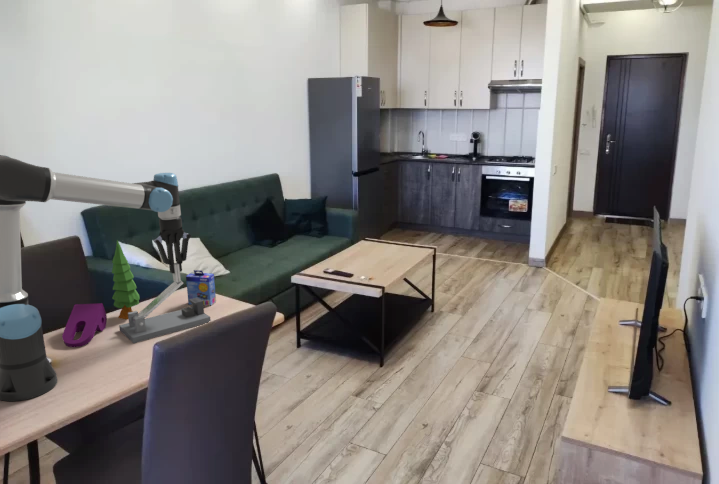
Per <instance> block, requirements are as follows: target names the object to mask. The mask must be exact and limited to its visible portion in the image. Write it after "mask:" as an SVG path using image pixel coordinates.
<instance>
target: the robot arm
mask: <svg viewBox="0 0 719 484" xmlns="http://www.w3.org/2000/svg"><path fill="white" fill-rule="evenodd" d="M179 194H180V192H179V183H178V178H177V174H175V173H173V172H160V173H155V174H154V175H153V180H150V181H142V182H132V183H130V182H124V181H118V180H117V181H116V180H109V179H102V178H96V177H88V176H81V175H75V174H74V175H73V174H69V173H68V174H67V173H61V172H53V171H52V169H50V167H43V166H39V165H35V164H30V163H28V162H25V161H22V160H19V159H16V158H15V157H14V158H13V157H10V156H9V155H5V154H4V155H1V154H0V401H3V402H4V401H5V402H19V401H20V402H21V401H24V400H30V399H33V398H36V397H39V396H41V395H44V394H46V393H47V392H49V391H51V390H52V389H54V388H55V387H56V385H57V384H58V375H57V372H56V370H55V368H54V367H53V366H52V363H51V362H50V360H49V359H48V357H47V350H46V345H45V338H44V332H43V326H42V325H43V324H42V322H43V321H42V317H41V314H40V311H39V310H38V308H37V307H35V306H33V305H30V304H29V293H28V292H27V291H25V290H24V289H23V288H22V287H23V282H22V281H23V280H22V277H23V276H22V251H21V250H22V246H21V245H22V243H21V212H20V211H21V209H22V208H23V207H24V206H25V205H26V203H27V202H37V203H38V202H39V203H47V202H49V200H54V201H64V202H65V201H66V202H71V203H72V202H74V203H81V204H82V203H83V204H91V205H92V204H93V205H99V206H101V205H102V206H109V207H110V206H111V207H120V208H127V209H128V208H129V209H139V210H146V211H153V212H156V213H157V216H158V218H159V219H158V224H159V235H158V237H157V238H154V239H153V242H154V244H155V245H156V247H157V249H158V252H159V254H160V257H161V260H162V262H163V264H165V265H167V266H169V273H171V274H172V281H173V282H174V281H175V282H180V281H182V280H181V279H182V278H181V272H182V271H183V266H182V265H183V262H185V261H187V257H188V256H187V255H188V247H189V241H190V238H191V237H192V235H191V233H187V232H185V230H184V229H183V221H182V217H181V216H182V211H181V204H180V203H181V202H180V195H179ZM181 239H182V240H181ZM181 241H182V242H181ZM163 242H165V245H166V250H165V247H164V245H163ZM174 258H175V259H174Z"/></svg>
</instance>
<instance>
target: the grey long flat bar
mask: <svg viewBox="0 0 719 484" xmlns="http://www.w3.org/2000/svg"><path fill="white" fill-rule="evenodd" d="M182 285H184V282H183V281H182V280H181V281H180V282H175V281H173V282H172V283H171V284H170V285H168V287H166V288H165V289H164V290H163V291H162V292H161V293H160V294H158V295H157V296H156V297H155V298H154V299H152V301H151V302H149V304H147V305H146V306H145V307H144V308H143V309H142V310H141V311H140V312H138V314H137V315H136V316H134V317H133V318H132V320H133V321H134V318H137V317H141V316H144V317H145V319H146V318H148V316H149V315H150V314H151V313H153V311H155V310H156V309H157V308H158V307H159V306H160V305H162V303H164V301H166V299H168V298H169V297H170V296H171V295H172V294H174V293H175V292H176V291H177V290H178V289H179V288H180V287H181V286H182Z"/></svg>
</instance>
